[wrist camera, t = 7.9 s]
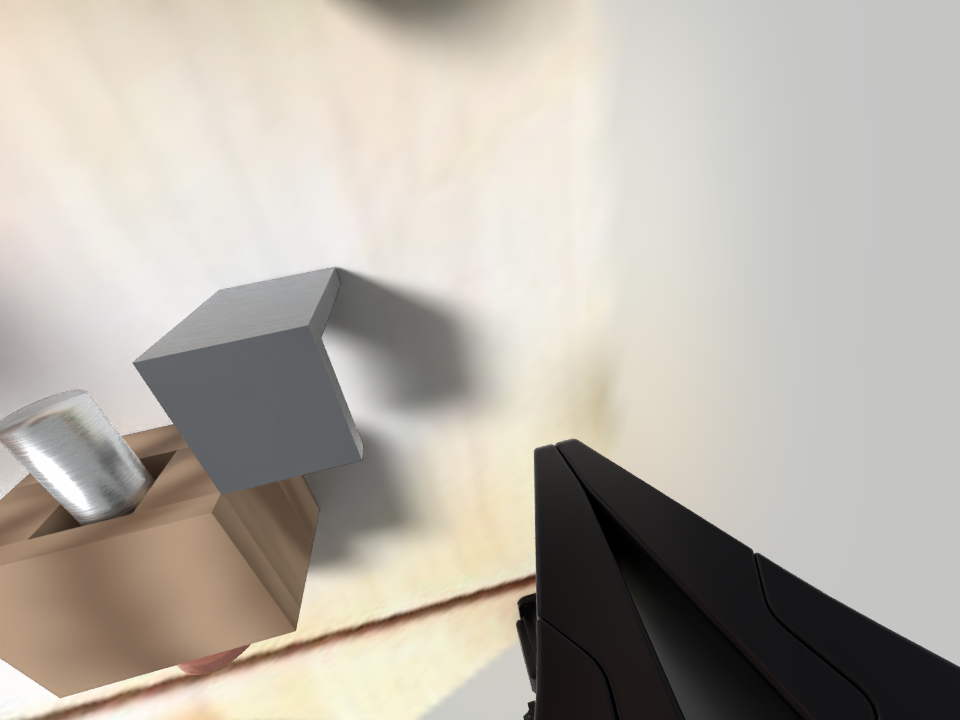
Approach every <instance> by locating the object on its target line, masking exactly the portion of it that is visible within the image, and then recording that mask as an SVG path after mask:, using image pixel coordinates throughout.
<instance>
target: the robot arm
mask: <svg viewBox="0 0 960 720" xmlns="http://www.w3.org/2000/svg"><path fill="white" fill-rule="evenodd" d="M534 487H535V546H536V595H534V596H530V597H527V598H523V599H521V600H519V601H518V603H517V604H518V610H519V615H520V620H518V621H517V623H516V627H517V632H518V637H519V641H520V645H521V649H522V652H523V656H524V660H525V664H526V668H527V672H528V675H529V679H530V683H531V687H532V691H533V692H535V693H536V702H535V701H531V702H528V707H529V711H528V713H526V714H525V715H524V716H523V717H524V720H960V667H959V666H957V665H955V664H953V663H952V662H950V661H948V660H946V659H944V658H942V657H940V656H938V655H937V654H935V653H932V652H931V651H929V650H927V649H925V648H923V647H922V646H920V645H918V644H916V643H914V642H912V641H910V640H909V639H907V638H905V637H902V636H901V635H899V634H897V633H895V632H893V631H892V630H890V629H888V628H886V627H884V626H882V625H881V624H879V623H877V622H875V621H873V620H872V619H870V618H868V617H866V616H864V615H863V614H861V613H858V612H857V611H855V610H853V609H851V608H850V607H848V606H846V605H845V604H843V603H841V602H839V601H837V600H836V599H834V598H832V597H830V596H828V595H827V594H825V593H823V592H822V591H820V590H818V589H817V588H815V587H813V586H812V585H810V584H808V583H807V582H805V581H803V580H802V579H800V578H798V577H797V576H795V575H793V574H792V573H790V572H788V571H787V570H785V569H783V568H782V567H780V566H779V565H777V564H775V563H774V562H772V561H771V560H769V559H767V558H766V557H764V556H763V555H761V554H759V553H755V554H754V552H753V550H752V549H751V548H749V547H748V546H746V545H744V544H743V543H741V542H740V541H738V540H737V539H735V538H733V537H732V536H730V535H729V534H727V533H726V532H724V531H722V530H721V529H719V528H717V527H716V526H714V525H713V524H711V523H710V522H708V521H706V520H705V519H703V518H702V517H700V516H698V515H697V514H695V513H694V512H692V511H690V510H689V509H687V508H686V507H684V506H682V505H681V504H679V503H678V502H676V501H674V500H673V499H671V498H670V497H668V496H666V495H665V494H663V493H662V492H660V491H658V490H657V489H655V488H654V487H652V486H650V485H649V484H647V483H645V482H644V481H642V480H641V479H639V478H638V477H636V476H634V475H633V474H631V473H629V472H628V471H626V470H625V469H623V468H622V467H620V466H618V465H617V464H615V463H614V462H612V461H610V460H609V459H607V458H606V457H604V456H602V455H601V454H599V453H598V452H596V451H594V450H593V449H591V448H590V447H588V446H587V445H585V444H583V443H582V442H580V441H579V440H577V439H569V440H565V441H562V442H558V443H556V444H555V445H552V444H550V445H546V446H542V447H539V448H536V449H535V450H534Z"/></svg>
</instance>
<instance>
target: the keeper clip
mask: <svg viewBox="0 0 960 720" xmlns="http://www.w3.org/2000/svg"><path fill="white" fill-rule="evenodd" d="M340 285H341V283H340V280H339V277H338V274H337V271H336V268H335V267H332V268H327V269H322V270H317V271H312V272H307V273H303V274H298V275H293V276H288V277H283V278H278V279H273V280H268V281H263V282H258V283H253V284H248V285H243V286H238V287H233V288H228V289H223V290H219V291H217V292H216V293H215V294H214V295H213V296H211V297H210V298H209V299H208V300H207V301H206V302H204V303H203V304H202V305H201V306H200V307H198V308H197V309H196V310H195V311H194V312H192V313H191V314H190V315H189V316H188V317H186V318H185V319H184V320H183V321H182V322H180V323H179V324H178V325H177V326H176V327H174V328H173V329H172V330H171V331H170V332H169V333H167V334H166V335H165V336H164V337H163V338H161V339H160V340H159V341H158V342H157V343H155V344H154V345H153V346H152V347H151V348H149V349H148V350H147V351H146V352H145V353H143V354H142V355H141V356H140V357H139V358H138V359H136V360H135V361H134V362H133V364H134V366H135V367H136V369H137V370H138V372H139V373H140V375H141V376H142V378H143V379H144V381H145V382H146V384H147V385H148V387H149V388H150V390H151V391H152V393H153V394H154V396H155V397H156V399H157V400H158V402H159V403H160V405H161V406H162V407H163V409H164V410H165V412H166V413H167V415H168V416H169V418H170V419H171V421H172V422H173V424H174V425H175V427H176V428H177V430H178V431H179V433H180V434H181V436H182V437H183V439H184V440H185V442H186V443H187V445H188V446H189V448H190V449H191V451H192V452H193V454H194V455H195V456H196V458H197V459H198V461H199V462H200V464H201V465H202V467H203V468H204V470H205V471H206V473H207V474H208V476H209V477H210V479H211V480H212V482H213V483H214V485H215V486H216V488H217V489H218V491H219V492H220V494H221V495H224V494H228V493H232V492H236V491H240V490H244V489H248V488H252V487H256V486H260V485H264V484H268V483H272V482H276V481H280V480H284V479H288V478H292V477H296V476H301V475H305V474H309V473H313V472H317V471H321V470H325V469H329V468H333V467H337V466H341V465H345V464H349V463H353V462H357V461H361V460H362V455H363V444H362V441H361V439H360V436H359V434H358V431H357V429H356V426H355V423H354V421H353V418H352V416H351V413H350V411H349V408H348V405H347V403H346V400H345V398H344V395H343V393H342V390H341V387H340V385H339V382H338V380H337V377H336V375H335V372H334V369H333V367H332V364H331V362H330V359H329V357H328V354H327V351H326V349H325V346H324V344H323V341H322V339H321V337H322V334H323V332H324V329H325V326H326V323H327V321H328V318H329V315H330V312H331V310H332V307H333V304H334V301H335V299H336V296H337V293H338V290H339V288H340Z"/></svg>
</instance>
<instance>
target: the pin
mask: <svg viewBox="0 0 960 720" xmlns="http://www.w3.org/2000/svg"><path fill="white" fill-rule="evenodd" d="M0 442H1V443H2V444H3V445H4V446H5V447H6V448H7V449H8V450H9V452H10V453H11V454H12V455H13V456H14V457H15V458H16V459H17V460H18V461H19V462H20V463H21V464H22V465H23V466H24V467H25V468H26V469H27V470H28V471H29V472H30V473H31V474H32V475H33V476H34V477H35V478H36V479H37V480H38V481H39V482H40V483H41V484H42V485H43V486H44V487H45V489H46V490H47V491H48V492H49V493H50V494H51V495H52V496H53V497H54V498H55V499H56V500H57V501H58V502H59V503H60V504H61V505H62V506H63V507H64V508H65V509H66V510H67V511H68V512H69V513H70V514H71V515H72V516H73V517H74V518H75V519H76V520H77V521H78V522H79V523H80V524H81V525H82V526H85V525H90V524H94V523H98V522H102V521H106V520H110V519H114V518H118V517H122V516H126V515H130V514H133V512H134V511H135V510H136V508H137V507H138V505H139V504H140V502H141V501H142V500H143V498H144V497H145V495H146V494H147V492H148V491H149V490H150V488H151V487H152V485H153V484H154V483H155V481H156V480H155V479H154V478H153V477H152V475H151V474H150V473H149V471H148V470H147V469H146V467H145V466H144V465H143V464H142V462H141V461H140V460H139V458H138V457H137V456H136V454H135V453H134V452H133V451H132V449H131V448H130V447H129V445H128V444H127V443H126V441H125V440H124V439H123V438H122V436H121V435H120V434H119V432H118V431H117V430H116V428H115V427H114V426H113V425H112V423H111V422H110V421H109V419H108V418H107V417H106V415H105V414H104V413H103V412H102V410H101V409H100V408H99V406H98V405H97V404H96V402H95V401H94V400H93V399H92V397H91V396H90V395H89V393H88V392H87V391H85V390H73V391H67V392H63V393H60V394H56V395H53V396H50V397H47V398H44V399H42V400H39V401H37V402H34V403H32V404H30V405H28V406H25V407H23V408H21V409H19V410H17V411H16V412H14V413H12V414H10V415H9V416H7V417H5V418H4V419H2V420H1V421H0ZM250 645H251V644H249V645H245V646H242V647H238V648H234V649H231V650H227V651H224V652H220V653H217V654H213V655H210V656H206V657H203V658H199V659H196V660H192V661H189V662H185V663H182V664H178V665H177V666H178V667H179V668H180V669H181V670H182V671H184V672H185V673H188V674H191V675H202V674H206V673H210V672H213V671H215V670H218V669H220V668H222V667H223V666H225V665H227V664H229V663H230V662H231V661H233V660H234V659H236V658H237V657H238V656H239V655H240V654H242V653H243V652H244V651H245V650H246V649H247V648H248V647H249V646H250Z"/></svg>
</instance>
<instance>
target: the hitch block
mask: <svg viewBox="0 0 960 720" xmlns="http://www.w3.org/2000/svg"><path fill="white" fill-rule="evenodd" d="M122 438H123V439H124V440H125V441H126V443H127V444H128V445H129V447H130V448H131V449H132V451H133V452H134V453H135V454H136V456H137V457H138V458H139V460H140V461H141V462H142V464H143V465H144V466H145V467H146V469H147V470H148V471H149V473H150V474H151V475H152V477H153V478H154V479H155V480H156V481H155V483H154V484H153V485H152V487H151V488H150V490H149V491H148V492H147V494H146V495H145V497H144V498H143V500H142V501H141V502H140V504H139V505H138V507H137V508H136V510H135V511H134V512H133V514H130V515H126V516H122V517H118V518H114V519H110V520H106V521H102V522H98V523H94V524H90V525H85V526H82V525H81V524H80V523H79V522H78V521H77V520H76V519H75V518H74V517H73V516H72V515H71V514H70V513H69V512H68V511H67V510H66V509H65V508H64V507H63V506H62V505H61V504H60V503H59V502H58V501H57V500H56V499H55V498H54V497H53V496H52V495H51V494H50V493H49V492H48V491H47V490H46V489H45V487H44V486H43V485H42V484H41V483H40V482H39V481H38V480H37V479H36V478H35V477H34V476H33V475H32V474H31V473H30V474H29V475H28V476H26V477H25V478H24V479H23V480H22V481H21V482H20V483H19V484H18V485H17V486H15V487H14V488H13V489H12V490H11V491H10V492H9V493H8V494H7V495H5V496H4V497H3V498H2V499H1V500H0V659H2V660H3V661H5V662H6V663H8V664H9V665H11V666H12V667H14V668H15V669H17V670H18V671H20V672H21V673H23V674H24V675H26V676H27V677H29V678H30V679H32V680H33V681H35V682H36V683H38V684H39V685H41V686H42V687H44V688H45V689H47V690H48V691H50V692H51V693H53V694H54V695H56V696H57V697H59V698H63V697H66V696H70V695H73V694H77V693H80V692H84V691H87V690H91V689H94V688H98V687H101V686H105V685H108V684H112V683H115V682H119V681H122V680H126V679H129V678H133V677H136V676H140V675H143V674H147V673H150V672H154V671H157V670H161V669H164V668H168V667H171V666H175V665H178V664H182V663H185V662H189V661H192V660H196V659H199V658H203V657H206V656H210V655H213V654H217V653H220V652H224V651H227V650H231V649H234V648H238V647H242V646H245V645H249V644H252V643H256V642H259V641H263V640H266V639H270V638H273V637H277V636H280V635H284V634H287V633H291V632H294V631H296V628H297V623H298V618H299V612H300V607H301V602H302V597H303V592H304V587H305V582H306V577H307V572H308V567H309V561H310V556H311V551H312V546H313V541H314V536H315V531H316V526H317V521H318V516H319V508H318V506H317V504H316V502H315V500H314V498H313V496H312V494H311V492H310V490H309V488H308V486H307V484H306V482H305V480H304V478H303V476H302V475H301V476H296V477H292V478H288V479H284V480H280V481H276V482H272V483H268V484H264V485H260V486H256V487H252V488H248V489H244V490H240V491H236V492H232V493H228V494H224V495H221V494H220V492H219V491H218V489H217V488H216V486H215V485H214V483H213V482H212V480H211V479H210V477H209V476H208V474H207V473H206V471H205V470H204V468H203V467H202V465H201V464H200V462H199V461H198V459H197V458H196V456H195V455H194V454H193V452H192V451H191V449H190V448H189V446H188V445H187V443H186V442H185V440H184V439H183V437H182V436H181V434H180V433H179V431H178V430H177V428H176V427H175V425H174V424H173V425H169V426H164V427H160V428H156V429H151V430H147V431H143V432H138V433H134V434H129V435H125V436H122Z"/></svg>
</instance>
